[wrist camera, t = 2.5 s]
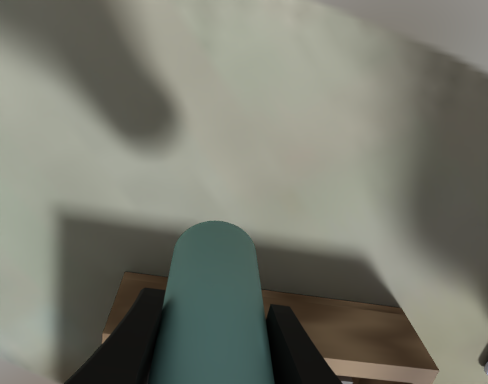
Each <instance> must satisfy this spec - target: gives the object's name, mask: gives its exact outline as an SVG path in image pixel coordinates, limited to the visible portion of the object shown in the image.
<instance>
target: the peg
mask: <svg viewBox="0 0 488 384" xmlns="http://www.w3.org/2000/svg"><path fill="white" fill-rule="evenodd" d="M147 384H275V382H274V375H273V368H272V361H271V354H270V347H269V340H268V333H267V326H266V319H265V312H264V305H263V298H262V291H261V284H260V277H259V270H258V263H257V256H256V249H255V246H254V243H253V241H252V240H251V238H250V237H249V235H248V234H247V233H246V232H245V231H243V230H242V229H241V228H239V227H237V226H235V225H233V224H231V223H227V222H223V221H207V222H203V223H199V224H197V225H194V226H192V227H191V228H189V229H188V230H186V231H185V232H184V233H183V234H182V235H181V236H180V238H179V239H178V241H177V242H176V245H175V247H174V252H173V257H172V262H171V267H170V272H169V277H168V282H167V287H166V292H165V297H164V304H163V310H162V315H161V320H160V325H159V330H158V335H157V339H156V343H155V348H154V353H153V358H152V363H151V368H150V373H149V378H148V383H147Z"/></svg>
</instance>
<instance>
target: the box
mask: <svg viewBox="0 0 488 384" xmlns="http://www.w3.org/2000/svg"><path fill="white" fill-rule="evenodd" d="M167 282H168V277H162V276H154V275H147V274H139V273H131V272H125V273H124V276H123V278H122V281H121V284H120V287H119V289H118V292H117V295H116V298H115V300H114V303H113V306H112V309H111V312H110V314H109V317H108V320H107V323H106V325H105V328H104V331H103V335H102V344H103V342H104V341H105V340H106V339H107V338H108V337H109V336H110V334H111V333H112V332H113V330H114V329H115V328H116V327H117V325H118V324H119V323H120V322H121V320H122V319H123V318H124V316H125V315H126V313H127V312H128V311H129V309H130V308H131V306H132V305H133V303H134V302H135V300H136V298H137V297H138V295H139V293H140V291H141V290H142V289H143V288H145V287H146V288H153V289H161V290H165V292H166V287H167ZM261 291H262V298H263V305H264V312H265V319H266V318H267V315H268V311H269V308H270V304H276V305H284V306H290V308H291V309H292V310H293V312H294V314H295V315H296V317H297V318H298V320H299V322H300V323H301V325H302V326H303V328H304V329H305V331H306V333H307V334H308V336H309V337H310V339H311V340H312V342H313V343H314V345H315V346H316V348H317V349H318V351H319V352H320V354H321V355H322V356H323V358H324V359H325V361H326V362H327V364H328V365H329V366H330V368H331V369H332V370H333V372H334V373H335V374H336V376H337V377H338V378H339V380H340V381H341V382H342V383H343V384H432V383H433V381H434V380H435V378H436V376H437V374H438V372H439V369H438V368H437V366H436V364H435V363H434V361H433V359H432V358H431V356H430V354H429V353H428V351H427V349H426V348H425V346H424V344H423V343H422V341H421V340H420V338H419V336H418V335H417V333H416V331H415V330H414V328H413V326H412V325H411V323H410V321H409V320H408V318H407V316H406V315H405V313H404V312H403V310H402V308H398V307H390V306H382V305H375V304H367V303H360V302H352V301H344V300H337V299H329V298H321V297H314V296H306V295H299V294H291V293H283V292H276V291H268V290H261Z"/></svg>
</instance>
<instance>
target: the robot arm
mask: <svg viewBox="0 0 488 384" xmlns="http://www.w3.org/2000/svg"><path fill="white" fill-rule="evenodd" d="M164 297H165V290H161V289H153V288H146V287H145V288H143V289H142V290H141V291H140V293H139V295H138V297H137V298H136V300H135V302H134V303H133V305H132V306H131V308H130V309H129V311H128V312H127V313H126V315H125V316H124V318H123V319H122V320H121V322H120V323H119V324H118V325H117V327H116V328H115V329H114V330H113V332H112V333H111V334H110V336H109V337H108V338H107V339H106V340H105V341H104V342H103V344H102V345H101V346H100V347H99V348H98V349H97V350H96V351H95V353H94V354H93V355H92V356H91V357H90V358H89V359H88V360H87V361H86V362H85V363H84V364H83V365H82V366H81V367H80V368H79V369H78V370H77V371H76V372H75V373H74V374H73V375H72V376H71V377H70V378H69V379H68V380H67V381H66V382H65V383H64V384H147V383H148V378H149V373H150V368H151V363H152V358H153V353H154V348H155V343H156V339H157V335H158V330H159V325H160V320H161V315H162V310H163V304H164ZM266 326H267V333H268V340H269V347H270V354H271V361H272V368H273V375H274V382H275V384H343V383H342V382H341V381H340V380H339V378H338V377H337V376H336V374H335V373H334V372H333V370H332V369H331V368H330V366H329V365H328V364H327V362H326V361H325V359H324V358H323V356H322V355H321V354H320V352H319V351H318V349H317V348H316V346H315V345H314V343H313V342H312V340H311V339H310V337H309V336H308V334H307V333H306V331H305V329H304V328H303V326H302V325H301V323H300V322H299V320H298V318H297V317H296V315H295V314H294V312H293V310H292V309H291V308H290V306H284V305H276V304H270V308H269V311H268V315H267V318H266ZM484 371H485V372H486V374H487V375H488V362H487V363H486V365H485V367H484Z"/></svg>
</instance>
